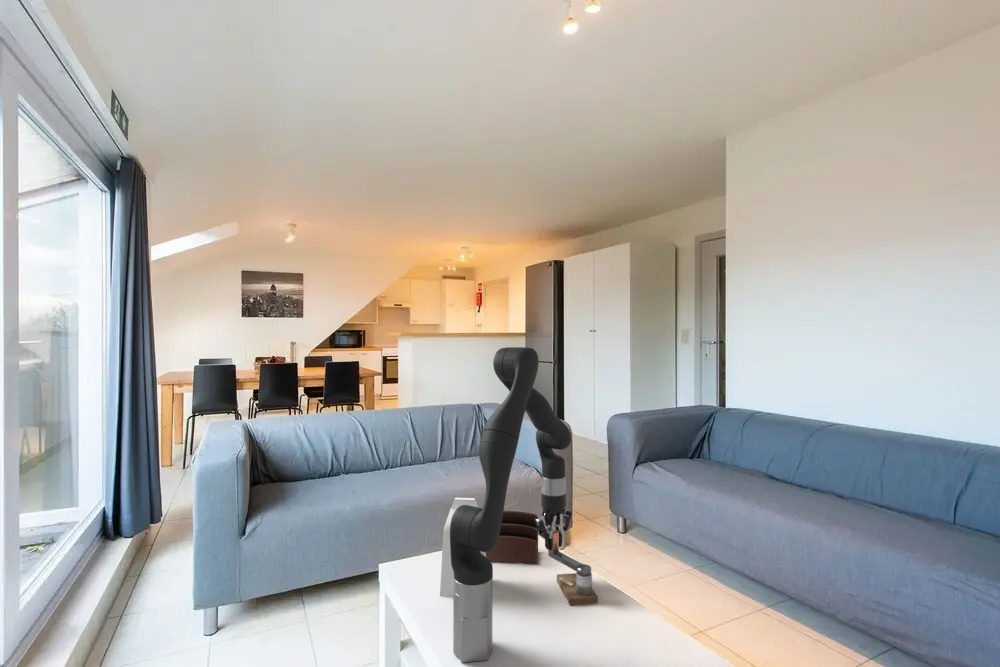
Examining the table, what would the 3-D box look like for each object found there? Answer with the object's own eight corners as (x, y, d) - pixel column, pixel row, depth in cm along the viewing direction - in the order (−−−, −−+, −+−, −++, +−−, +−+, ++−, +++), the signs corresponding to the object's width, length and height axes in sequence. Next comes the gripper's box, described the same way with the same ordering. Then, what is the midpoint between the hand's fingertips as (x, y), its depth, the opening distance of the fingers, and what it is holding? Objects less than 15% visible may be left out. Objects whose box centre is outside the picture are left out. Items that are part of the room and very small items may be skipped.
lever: (594, 573, 142) (594, 546, 142) (583, 577, 139) (583, 550, 139) (555, 552, 155) (555, 528, 155) (545, 555, 153) (545, 531, 153)
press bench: (597, 603, 139) (597, 578, 139) (568, 605, 138) (569, 580, 138) (582, 579, 153) (582, 556, 153) (556, 581, 152) (556, 557, 152)
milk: (486, 578, 153) (487, 493, 154) (481, 598, 142) (482, 505, 142) (447, 576, 155) (448, 492, 155) (439, 596, 143) (440, 504, 143)
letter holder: (481, 549, 175) (481, 508, 175) (538, 552, 173) (538, 511, 173) (476, 562, 165) (476, 519, 165) (537, 565, 163) (537, 521, 163)
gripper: (544, 498, 145) (545, 558, 145) (578, 489, 154) (579, 545, 154) (527, 492, 151) (528, 549, 151) (561, 483, 160) (561, 537, 160)
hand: (553, 547), depth 153 cm, fingers closed on lever, 3 cm apart
